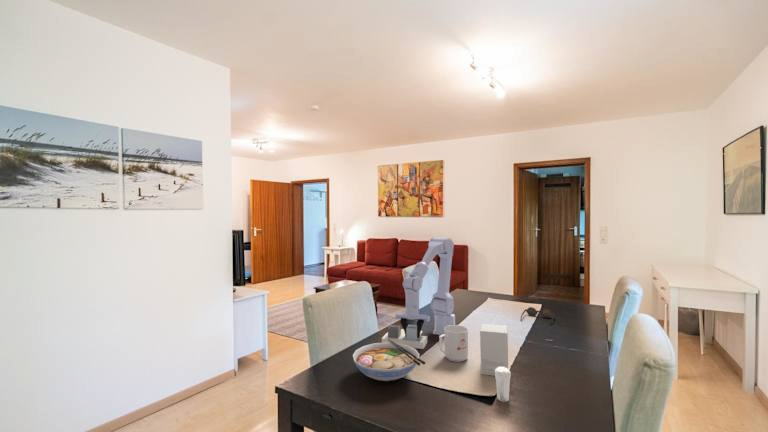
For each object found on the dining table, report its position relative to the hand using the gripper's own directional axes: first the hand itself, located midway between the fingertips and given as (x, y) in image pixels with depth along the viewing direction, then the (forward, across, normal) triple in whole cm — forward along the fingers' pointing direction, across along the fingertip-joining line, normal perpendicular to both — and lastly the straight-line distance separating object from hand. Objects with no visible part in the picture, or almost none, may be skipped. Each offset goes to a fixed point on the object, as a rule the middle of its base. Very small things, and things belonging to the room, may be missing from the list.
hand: (412, 336), depth 146 cm
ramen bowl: (+3, -2, -31) cm, 31 cm away
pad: (+3, -4, +11) cm, 12 cm away
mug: (+3, +18, -10) cm, 21 cm away
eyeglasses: (+4, +54, +51) cm, 74 cm away
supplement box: (+3, +33, -16) cm, 37 cm away
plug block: (+2, 0, 0) cm, 2 cm away
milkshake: (+3, +35, -35) cm, 50 cm away
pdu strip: (+3, -4, 0) cm, 5 cm away
